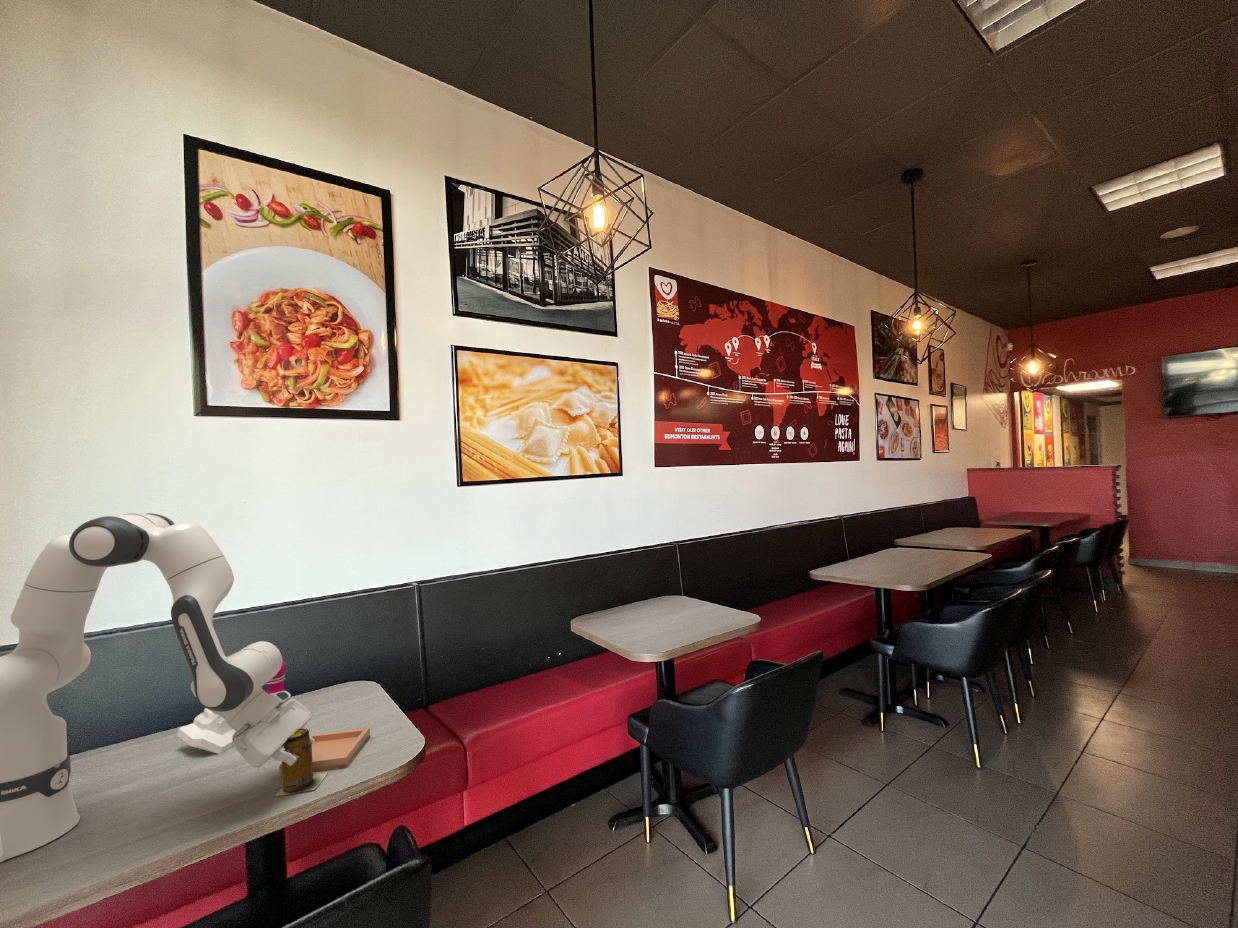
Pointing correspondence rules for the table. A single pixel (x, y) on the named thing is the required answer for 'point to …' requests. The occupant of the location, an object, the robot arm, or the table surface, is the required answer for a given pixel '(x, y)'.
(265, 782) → the table surface
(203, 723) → the white stepped rock sculpture
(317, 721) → the table surface
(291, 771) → the condiment
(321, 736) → the tray
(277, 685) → the pepper mill
